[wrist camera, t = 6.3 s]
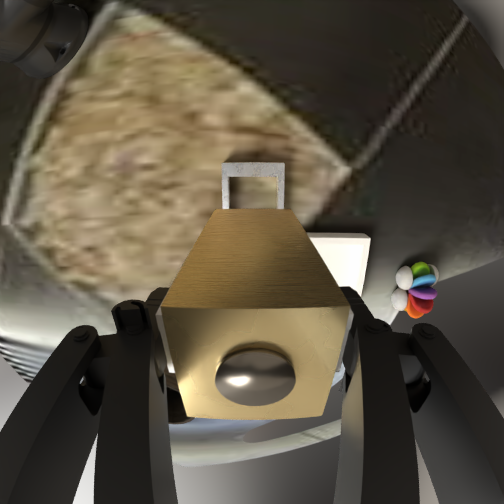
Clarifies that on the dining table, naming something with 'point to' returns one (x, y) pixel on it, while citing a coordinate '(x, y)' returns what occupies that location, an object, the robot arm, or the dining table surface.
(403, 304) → the rainbow petal fan toy
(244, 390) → the tan knobbed block
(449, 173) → the dining table surface
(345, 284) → the parts tray
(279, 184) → the gray rectangular frame
